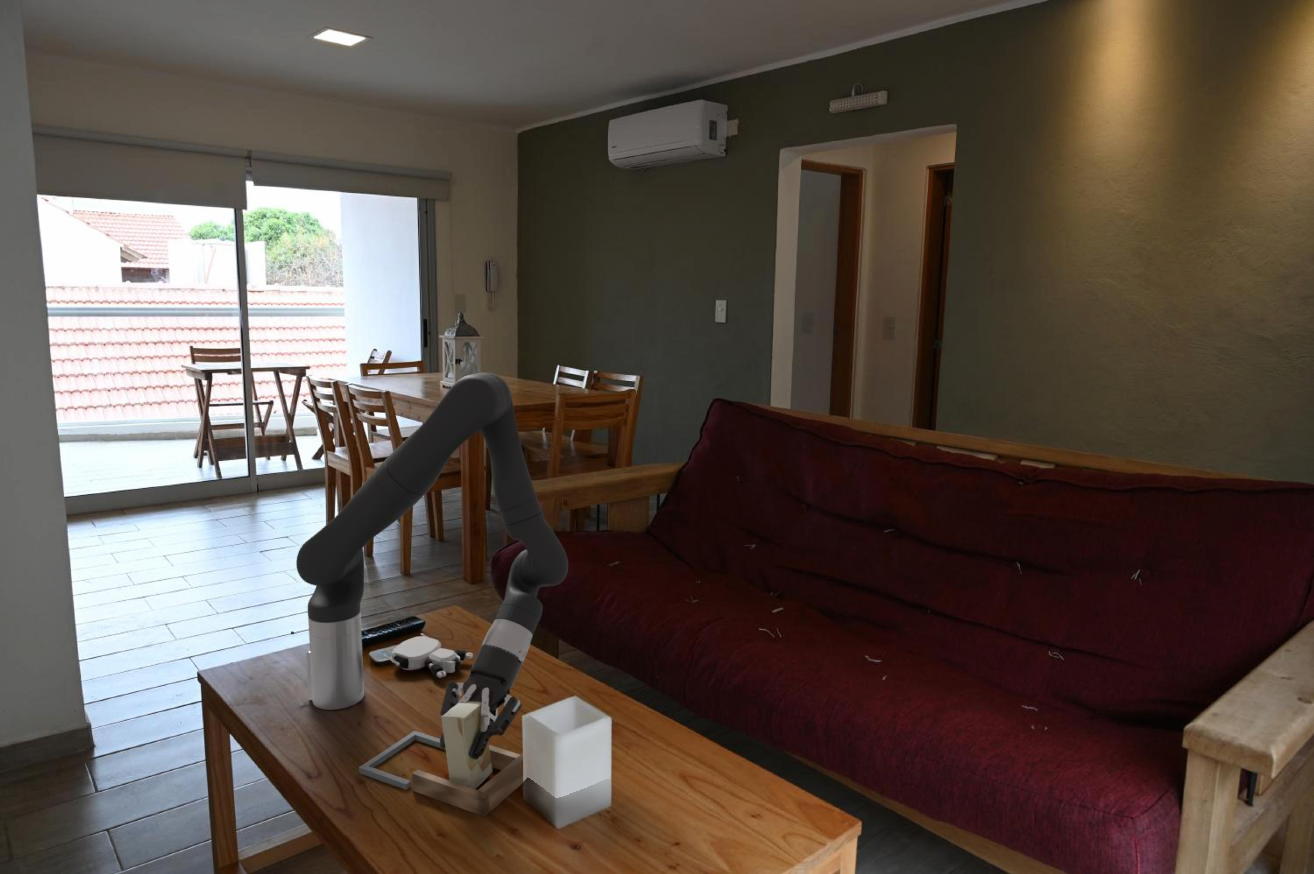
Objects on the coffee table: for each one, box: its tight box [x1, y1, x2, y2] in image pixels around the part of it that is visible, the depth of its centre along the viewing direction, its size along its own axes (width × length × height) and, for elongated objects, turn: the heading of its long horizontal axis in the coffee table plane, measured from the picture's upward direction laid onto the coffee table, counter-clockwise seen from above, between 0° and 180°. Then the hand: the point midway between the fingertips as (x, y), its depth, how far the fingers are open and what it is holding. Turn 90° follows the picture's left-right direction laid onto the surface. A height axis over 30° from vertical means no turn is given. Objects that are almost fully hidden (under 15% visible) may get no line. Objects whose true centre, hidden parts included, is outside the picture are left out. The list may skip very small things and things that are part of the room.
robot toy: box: [383, 633, 474, 678], centre depth 174 cm, size 12×4×15 cm
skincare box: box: [440, 701, 493, 790], centre depth 133 cm, size 6×4×12 cm
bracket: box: [358, 730, 444, 791], centre depth 140 cm, size 10×13×1 cm
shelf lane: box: [411, 744, 524, 817], centre depth 134 cm, size 14×12×4 cm
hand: (458, 752), depth 132 cm, fingers closed on skincare box, 5 cm apart
